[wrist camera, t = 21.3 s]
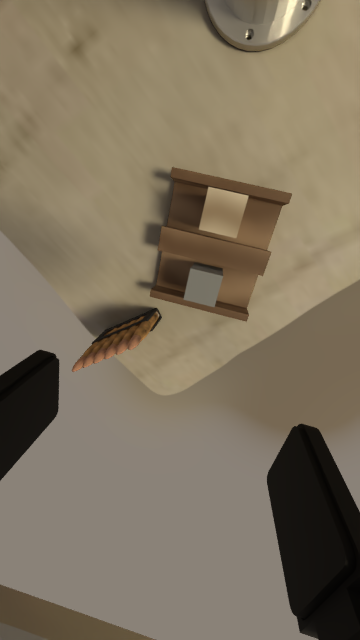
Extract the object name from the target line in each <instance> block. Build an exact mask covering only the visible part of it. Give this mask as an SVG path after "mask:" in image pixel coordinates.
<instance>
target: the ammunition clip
mask: <svg viewBox="0 0 360 640" xmlns="http://www.w3.org/2000/svg"><path fill="white" fill-rule="evenodd" d="M161 318H162V316H161V314H160V313H159V311H158V309H157V308H155V309H153V310H151V311H149V312H146V313H144V314H142V315H139V316H137V317H135V318H132V319H130V320H128V321H126V322H123V323H121V324H119V325H116V326H114V327H112V328H109V329H107V330H105V331H104V332H103V333H102V334H101V335H100V336H99V337H98V338H97V339H95V340H94V341H93V342H92V345H91V346H90V347H89V348H88V349H87V350H86V351H85V353H84V354H83V355H82V356H81V358H80V359H79V360H78V361H77V362H76V363H75V365H74V366H73V369H72V371H73V372H74V371H77V370H79V369H81V368H82V367H83V368H84V367H87V366H89V365H91V364H92V363H94V364H95V363H98V362H99V361H101V360H103V359H108V358H110V357H112V356H113V355H114V354H115V353H116V354H117V355H118V354H121V353H123V352H124V351H125V350H126V349H127V348H128V349H129V350H131V349H133V348H135V347H136V346H137V345H138V344H139V343H140V342H141V341H142V340H143V339H144V338H145V337H146V336H147V334H148V333H149V332H150V331H153V329H154V328H155V327H156V325H157V324H158V322H159V321H160V320H161Z"/></svg>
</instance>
